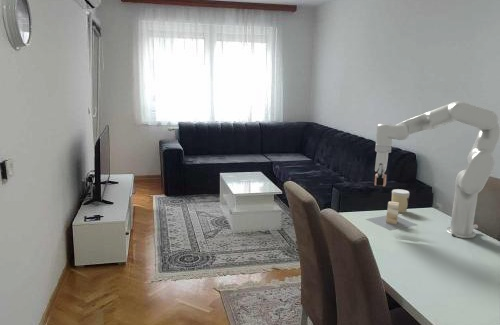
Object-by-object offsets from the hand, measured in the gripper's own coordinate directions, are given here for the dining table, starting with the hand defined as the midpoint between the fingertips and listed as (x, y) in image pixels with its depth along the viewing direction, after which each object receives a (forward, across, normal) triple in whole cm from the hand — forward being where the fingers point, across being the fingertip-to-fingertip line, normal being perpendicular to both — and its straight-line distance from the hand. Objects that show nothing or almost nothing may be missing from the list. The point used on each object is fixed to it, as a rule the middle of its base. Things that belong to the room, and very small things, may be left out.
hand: (380, 183), depth 200 cm
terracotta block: (+1, 0, 0) cm, 1 cm away
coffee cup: (+21, -24, +9) cm, 33 cm away
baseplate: (+21, -1, +7) cm, 22 cm away
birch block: (+15, -1, +7) cm, 16 cm away
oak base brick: (+20, -1, +7) cm, 21 cm away
